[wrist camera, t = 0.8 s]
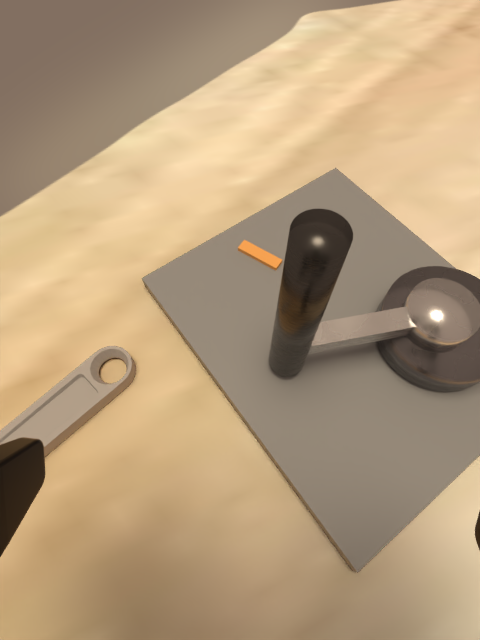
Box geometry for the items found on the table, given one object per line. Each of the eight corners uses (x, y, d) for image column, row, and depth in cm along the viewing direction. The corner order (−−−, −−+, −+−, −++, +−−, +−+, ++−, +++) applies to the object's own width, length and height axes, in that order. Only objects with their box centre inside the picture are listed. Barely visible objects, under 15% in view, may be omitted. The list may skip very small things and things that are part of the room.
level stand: (559, 372, 23) (576, 364, 22) (352, 570, 19) (359, 573, 18) (333, 178, 31) (336, 164, 30) (145, 286, 26) (140, 275, 25)
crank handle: (520, 346, 23) (739, 207, 13) (362, 484, 19) (493, 445, 9) (412, 253, 26) (521, 82, 16) (261, 358, 22) (276, 227, 12)
